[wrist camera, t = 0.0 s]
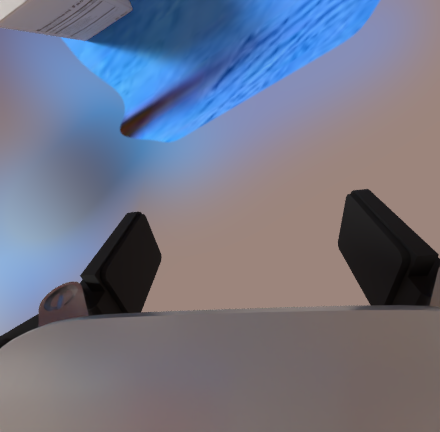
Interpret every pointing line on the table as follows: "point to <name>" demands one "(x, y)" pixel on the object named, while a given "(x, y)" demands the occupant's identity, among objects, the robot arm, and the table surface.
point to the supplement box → (62, 16)
